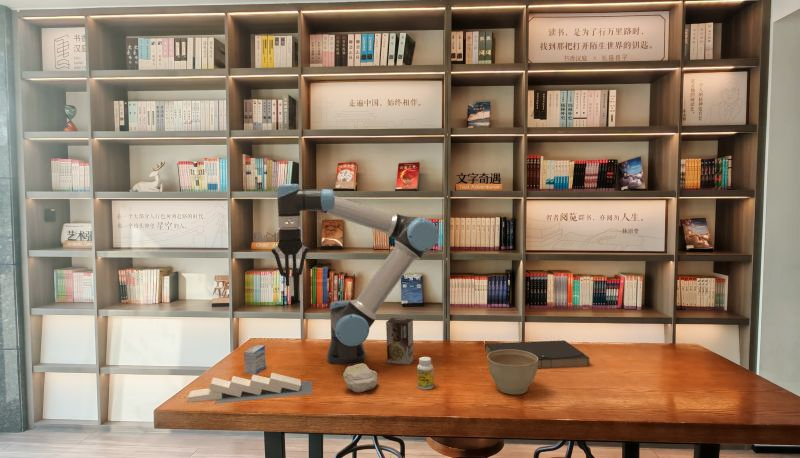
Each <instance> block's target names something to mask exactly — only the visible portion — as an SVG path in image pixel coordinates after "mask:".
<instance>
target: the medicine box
mask: <svg viewBox="0 0 800 458" xmlns="http://www.w3.org/2000/svg"><path fill="white" fill-rule="evenodd" d="M243 356H244V357H243V358H244V359H243V361H244V362H243V363H244V374H246V375H257V374H258V373H259V372H261V371H264V370H265V369H266V368H267V365H266V364H267V363H266V362H267V361H266V359H267V358H266V346H265V345H262V344H261V345H260V344H259V345H258V344H256V345H253V346H251V347H250V348H248V349H247V350H245V351H243Z"/></svg>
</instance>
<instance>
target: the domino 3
mask: <svg viewBox="0 0 800 458" xmlns="http://www.w3.org/2000/svg"><path fill="white" fill-rule="evenodd" d="M230 382H231V383H230V386H229V388H231V389H236V390H240V391H244V392H248V393H253V394H257V395H260V394H261V391H262V389H259V388H255V387H250V386H249V385H250V382H251V379H247V378H244V377H239V376H234V375H233V376H232V378H231V381H230Z"/></svg>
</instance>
